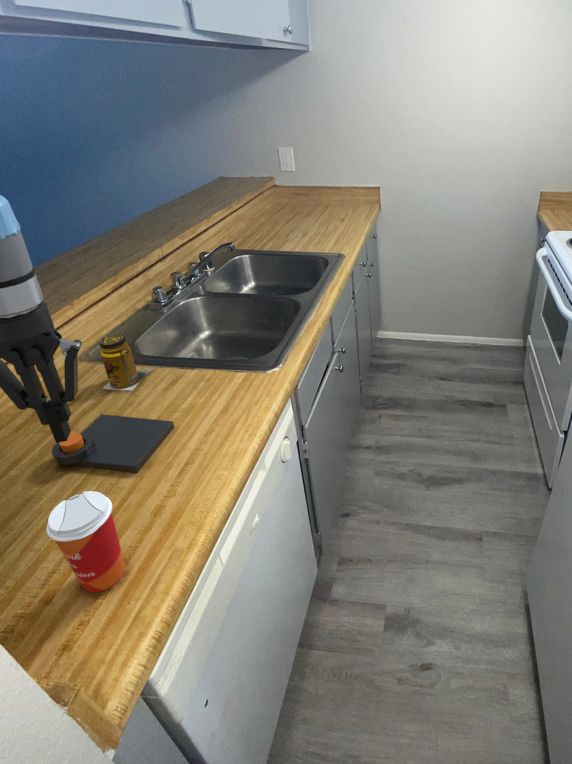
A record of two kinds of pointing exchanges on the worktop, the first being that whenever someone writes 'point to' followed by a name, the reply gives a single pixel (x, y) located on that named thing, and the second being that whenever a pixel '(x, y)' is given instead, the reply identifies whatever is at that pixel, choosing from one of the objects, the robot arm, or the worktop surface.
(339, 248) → the worktop surface
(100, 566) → the paper cup
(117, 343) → the condiment
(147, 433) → the scale
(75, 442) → the tare button
